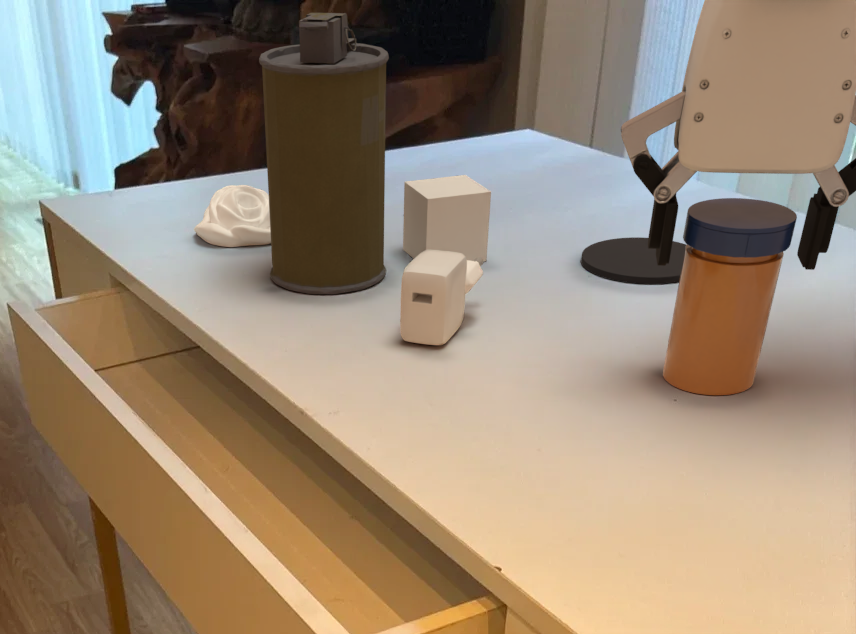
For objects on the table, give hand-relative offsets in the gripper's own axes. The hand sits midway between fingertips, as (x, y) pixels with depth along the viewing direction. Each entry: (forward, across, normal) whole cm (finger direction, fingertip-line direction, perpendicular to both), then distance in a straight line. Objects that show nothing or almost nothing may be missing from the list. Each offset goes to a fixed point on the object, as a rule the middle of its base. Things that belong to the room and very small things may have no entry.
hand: (732, 261), depth 76 cm
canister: (+8, +32, -19) cm, 38 cm away
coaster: (+8, +4, -25) cm, 26 cm away
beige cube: (+8, +22, -26) cm, 34 cm away
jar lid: (-3, 0, 0) cm, 3 cm away
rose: (+8, +42, -30) cm, 52 cm away
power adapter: (+8, +20, -9) cm, 24 cm away
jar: (+8, 0, 0) cm, 8 cm away
